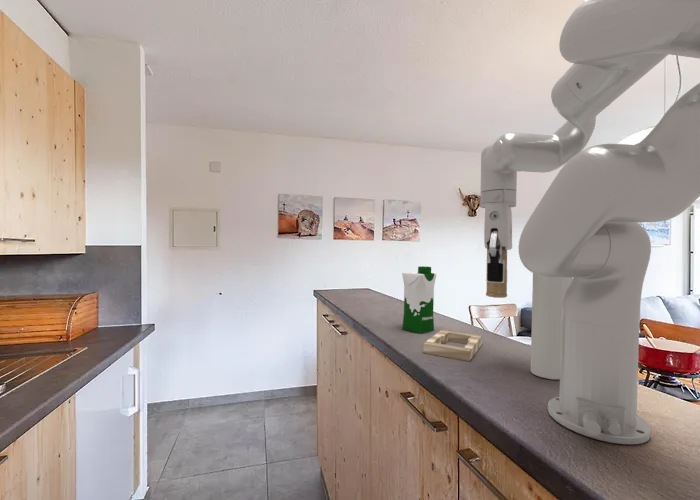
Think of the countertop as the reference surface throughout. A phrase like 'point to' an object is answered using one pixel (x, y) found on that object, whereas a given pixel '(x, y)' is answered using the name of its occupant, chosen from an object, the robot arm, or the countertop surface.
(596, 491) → the countertop surface
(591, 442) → the countertop surface
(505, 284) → the sprinkles bottle
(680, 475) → the countertop surface
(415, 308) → the milk carton
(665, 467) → the countertop surface
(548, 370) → the paper towel roll
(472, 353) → the wooden frame
